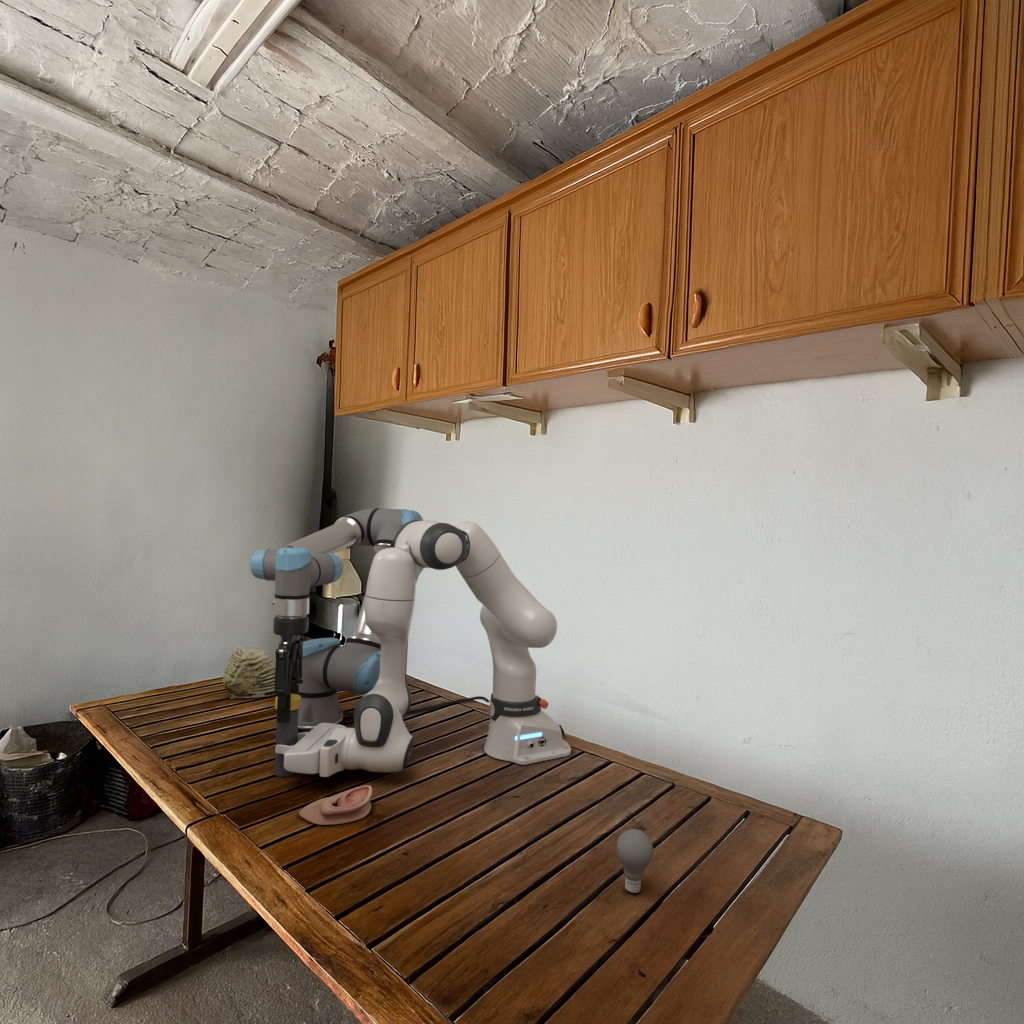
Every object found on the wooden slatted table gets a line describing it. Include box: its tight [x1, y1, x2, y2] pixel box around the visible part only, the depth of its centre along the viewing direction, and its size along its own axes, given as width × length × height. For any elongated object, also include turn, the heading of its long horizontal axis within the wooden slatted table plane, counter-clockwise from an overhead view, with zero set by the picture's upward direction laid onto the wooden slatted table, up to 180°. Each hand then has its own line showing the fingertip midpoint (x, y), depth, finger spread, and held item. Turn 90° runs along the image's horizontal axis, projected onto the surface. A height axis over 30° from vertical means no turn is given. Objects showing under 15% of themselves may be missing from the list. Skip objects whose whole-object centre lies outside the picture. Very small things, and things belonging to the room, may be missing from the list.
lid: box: [274, 694, 301, 711], centre depth 144 cm, size 6×6×2 cm
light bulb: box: [615, 828, 654, 894], centre depth 106 cm, size 6×6×10 cm
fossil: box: [222, 646, 277, 699], centre depth 198 cm, size 9×18×15 cm, turn 132°
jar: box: [274, 708, 299, 778], centre depth 144 cm, size 5×5×16 cm
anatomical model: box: [298, 784, 373, 826], centre depth 127 cm, size 13×4×12 cm
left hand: (287, 717), depth 144 cm, fingers closed on lid, 5 cm apart
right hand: (282, 742), depth 145 cm, fingers closed on jar, 5 cm apart
